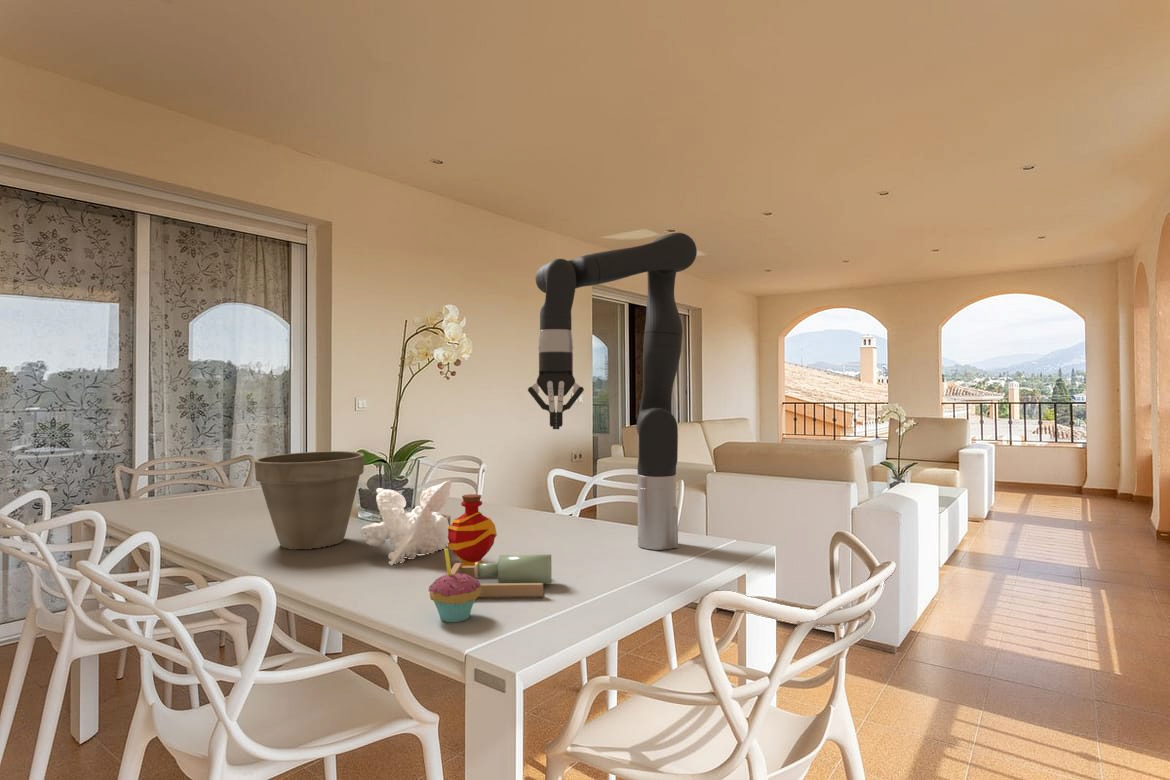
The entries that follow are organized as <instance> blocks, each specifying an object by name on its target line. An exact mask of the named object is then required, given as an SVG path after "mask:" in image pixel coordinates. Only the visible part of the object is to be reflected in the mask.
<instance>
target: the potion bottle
mask: <svg viewBox="0 0 1170 780" xmlns="http://www.w3.org/2000/svg"><path fill="white" fill-rule="evenodd" d="M481 499H482V495H481V494H478V493H477V494H476V493H474V494H473V493H469V494H463V495H462V502H461V503H460V504H461V507H464V513H463V514H461V515H460V516H459V517H457V518H454V519H453V520H452V522H451V523H450V526H449V527H448V544H447V548H448V550H450V551H451V550H452V551H453V553H454V555H455V556H456V557H457V559H460V560H461V562H460V563H461V566H475V562H479V563H484V562H483V561H482V559H483V558H484V557H485V556H486V555H487V554H488V553H489V551H491V549H492V547H493V546H494V543H495V539H496V537H497V535H498V534H497V529H496V525H495V523H494V522H493V520H492V519H491V517H487V516H485V515H483V513H482V512H480V511H479V507H480V506H482V504H483V501H482V500H481Z"/></svg>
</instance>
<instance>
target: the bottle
mask: <svg viewBox="0 0 1170 780" xmlns="http://www.w3.org/2000/svg"><path fill="white" fill-rule="evenodd" d="M552 568H553V567H552V554H499V556H498V562H492V563H491V562H487V563H486V562H483V563H479V562H475V567H474V576H475V578H478V577H479V576H498V583H543V584H544V585H545V584H552V578H553V577H552Z"/></svg>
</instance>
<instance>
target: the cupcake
mask: <svg viewBox="0 0 1170 780" xmlns="http://www.w3.org/2000/svg"><path fill="white" fill-rule="evenodd" d="M444 545H445V549H444V550H443V551H444V559H445V565H446V572H447V574H444V575H442V576H440V577H438V578H437V579H435V580H434V581H433V582H432V584H430V585H429V587H428V592H429V598H430V601H431V600H432V601H433V602H434V605H435V607H436V610H437V612H438V615H439V619H440V620H441V621H442V622H445V623H458V622H459V623H460V622H463V621H467V619H469V617H470V616H471V612H472V608H473V605H474V603H475V601H476V600H477V599H476V598H477V597H478V596H479V595H480V594H481V592H482V589H481V584H480V582H479V581H478V580H477V579H475V578H473V577H472V576H469V575H467V574H462V573H461V574H452V573H451V569H452V568H451V567H452V565H451V559H450V553H449V552H450V551H449V548H448V547H447V546H446V544H444Z"/></svg>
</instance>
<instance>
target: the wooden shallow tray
mask: <svg viewBox="0 0 1170 780" xmlns="http://www.w3.org/2000/svg"><path fill="white" fill-rule="evenodd" d="M461 563H462V562H455V563H454V564H453V566H451V567H452V568H451V573H452V574H461V573H462V574H467V575H469V576H472V577H473V578H475V576H474V567H475V566H461ZM475 579H477V580H478V581H479V582H480V584H481V589H482V592H481V594H480V595H479V596H478V597H477V598H476V599H475V600H480V599H481V600H488V599H490V600H493V599H502V600H503V599H506V600H507V599H543V596H544V589H545V584H543V583H498V576H479V577H478V578H475Z"/></svg>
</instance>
